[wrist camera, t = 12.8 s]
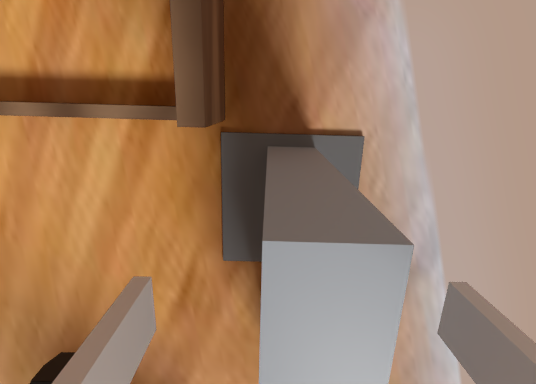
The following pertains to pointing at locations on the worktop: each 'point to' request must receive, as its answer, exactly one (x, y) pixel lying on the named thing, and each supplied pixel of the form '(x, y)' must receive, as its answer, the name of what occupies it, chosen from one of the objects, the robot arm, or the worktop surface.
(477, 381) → the robot arm
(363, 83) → the worktop surface
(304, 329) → the grey rectangular block
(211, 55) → the frame
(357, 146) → the mat
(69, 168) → the worktop surface
